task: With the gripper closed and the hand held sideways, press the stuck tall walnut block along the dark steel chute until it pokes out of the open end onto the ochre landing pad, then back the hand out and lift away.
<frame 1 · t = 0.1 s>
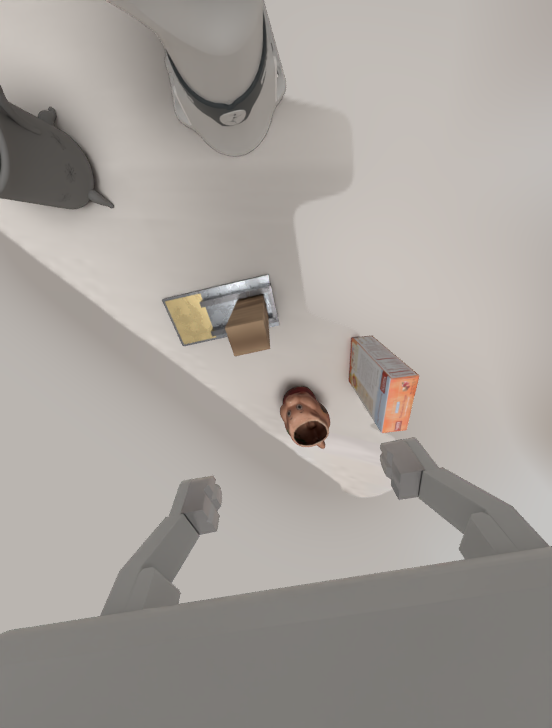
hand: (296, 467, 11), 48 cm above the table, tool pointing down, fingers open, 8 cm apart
cracker box: (359, 358, 64), on the table
decorative planter: (302, 401, 70), on the table
footed curly-handled cup: (72, 170, 42), on the table
steel chute: (225, 311, 55), on the table
walnut block: (251, 319, 45), point 11 cm above the table, slide at 0.0 cm
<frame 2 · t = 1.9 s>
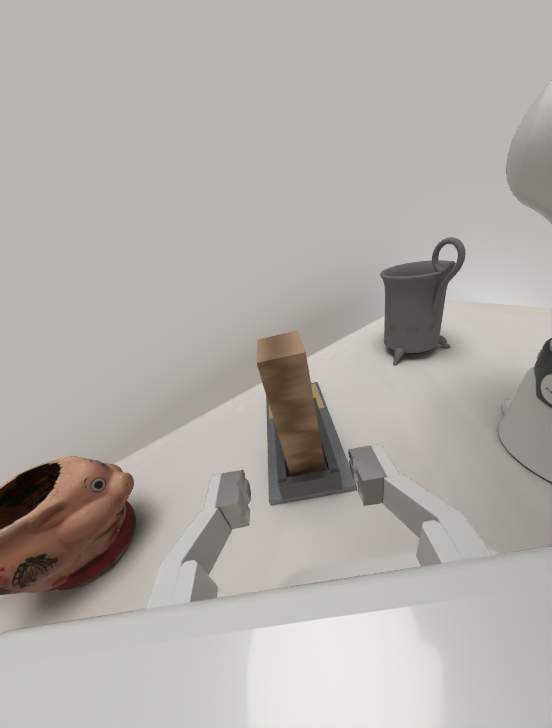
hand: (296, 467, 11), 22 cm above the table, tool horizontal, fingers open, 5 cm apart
decorative planter: (88, 554, 32), on the table
footed curly-handled cup: (412, 351, 57), on the table
steel chute: (300, 432, 42), on the table
walnut block: (294, 412, 30), point 11 cm above the table, slide at 0.0 cm
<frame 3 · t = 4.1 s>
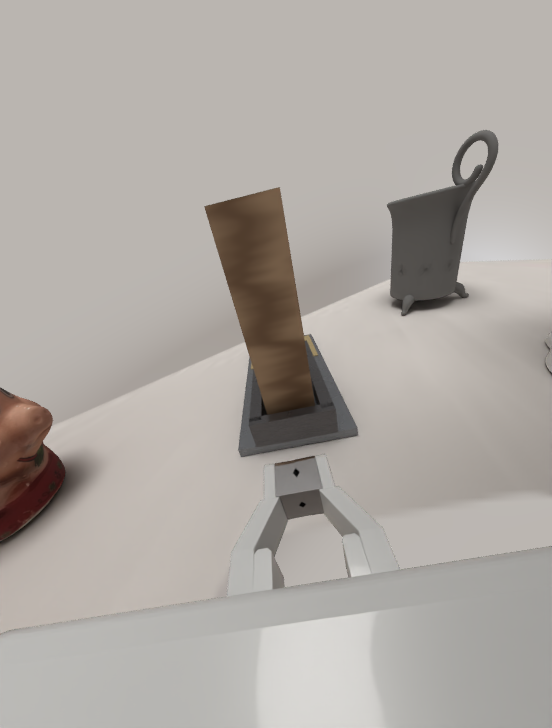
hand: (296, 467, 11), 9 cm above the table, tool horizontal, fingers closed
footed curly-handled cup: (422, 304, 48), on the table
steel chute: (287, 381, 34), on the table
walnut block: (273, 326, 22), point 11 cm above the table, slide at 0.0 cm
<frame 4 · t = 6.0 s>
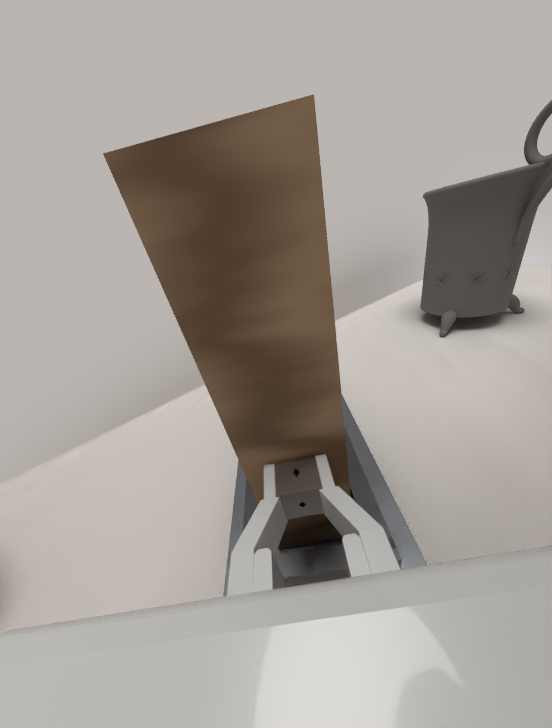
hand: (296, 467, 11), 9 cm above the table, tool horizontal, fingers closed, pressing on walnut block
footed curly-handled cup: (463, 320, 39), on the table
steel chute: (298, 440, 24), on the table
walnut block: (282, 393, 13), point 11 cm above the table, slide at 0.3 cm, touching gripper
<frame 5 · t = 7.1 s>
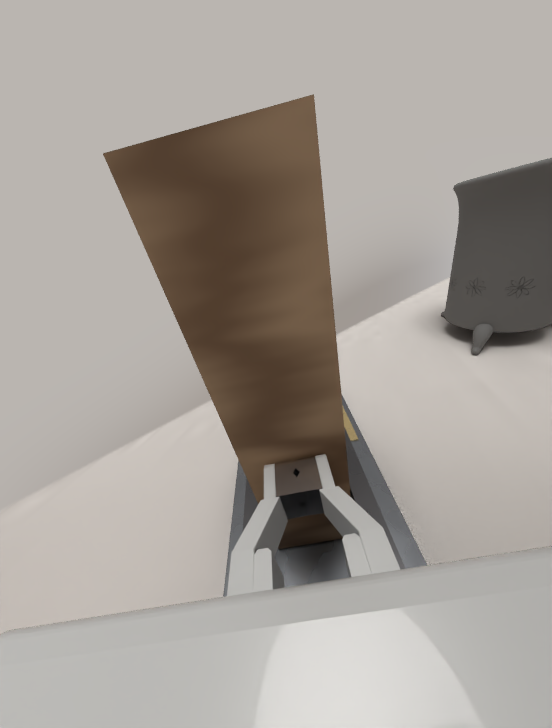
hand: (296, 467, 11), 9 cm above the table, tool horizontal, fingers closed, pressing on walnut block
footed curly-handled cup: (495, 333, 33), on the table
steel chute: (309, 499, 18), on the table
walnut block: (282, 393, 13), point 11 cm above the table, slide at 6.5 cm, touching gripper
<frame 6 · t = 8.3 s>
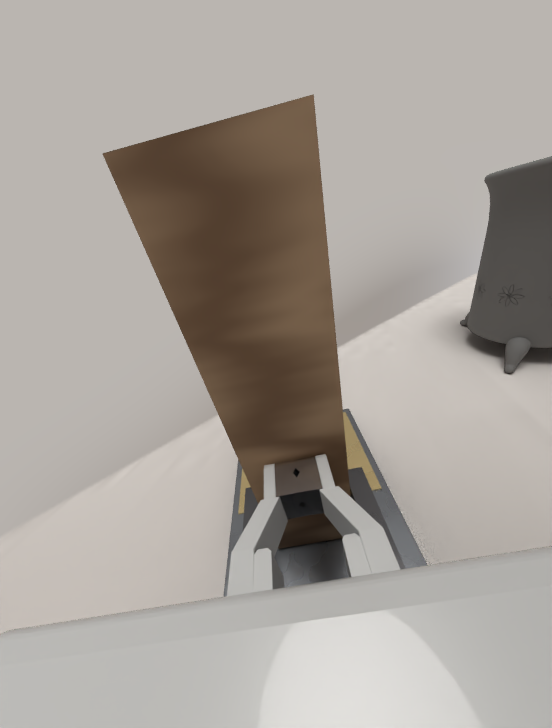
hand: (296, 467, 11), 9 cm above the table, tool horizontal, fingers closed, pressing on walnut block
footed curly-handled cup: (527, 347, 29), on the table
steel chute: (322, 575, 14), on the table
walnut block: (282, 393, 13), point 11 cm above the table, slide at 11.3 cm, touching gripper
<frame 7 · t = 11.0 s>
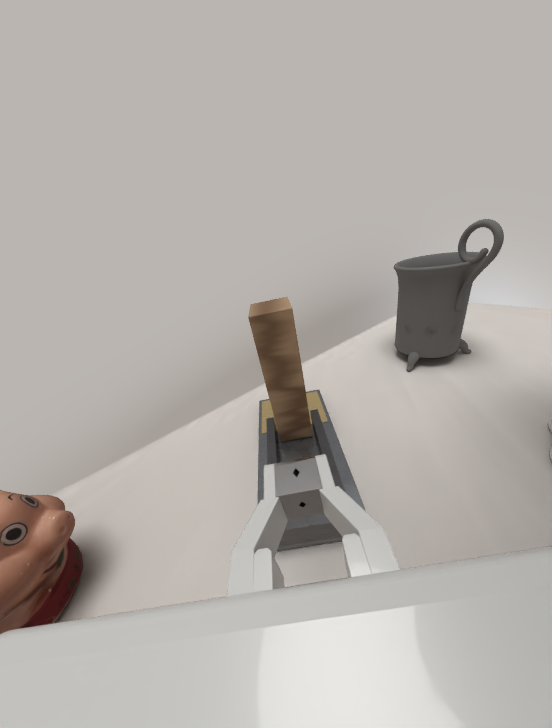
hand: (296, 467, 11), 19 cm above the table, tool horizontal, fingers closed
decorative planter: (12, 617, 24), on the table
footed curly-handled cup: (426, 356, 50), on the table
steel chute: (299, 451, 34), on the table
walnut block: (283, 374, 33), point 11 cm above the table, slide at 11.4 cm
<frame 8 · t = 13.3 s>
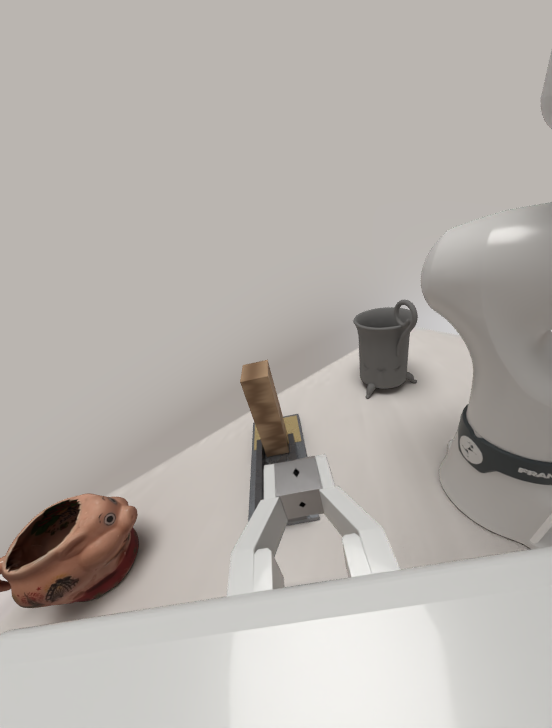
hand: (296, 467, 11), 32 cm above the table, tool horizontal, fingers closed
decorative planter: (100, 571, 39), on the table
footed curly-handled cup: (384, 384, 64), on the table
steel chute: (279, 463, 49), on the table
walnut block: (267, 410, 47), point 11 cm above the table, slide at 11.4 cm
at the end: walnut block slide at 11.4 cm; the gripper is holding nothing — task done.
